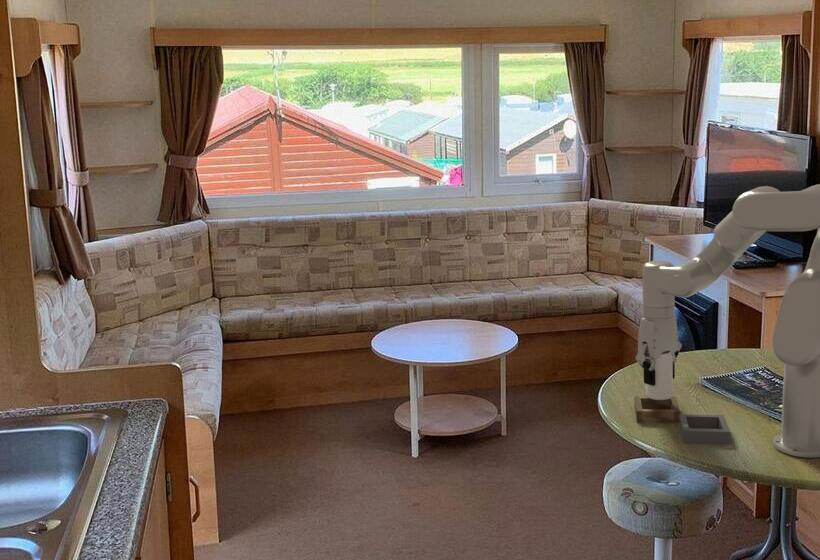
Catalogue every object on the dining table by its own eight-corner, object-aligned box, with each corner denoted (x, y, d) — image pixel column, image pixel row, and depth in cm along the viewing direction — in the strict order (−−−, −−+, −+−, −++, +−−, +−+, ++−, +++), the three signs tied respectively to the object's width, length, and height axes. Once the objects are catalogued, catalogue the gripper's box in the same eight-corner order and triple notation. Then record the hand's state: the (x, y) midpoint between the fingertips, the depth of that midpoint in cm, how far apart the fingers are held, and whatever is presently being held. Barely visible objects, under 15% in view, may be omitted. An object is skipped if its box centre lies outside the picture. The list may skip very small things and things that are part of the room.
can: (654, 402, 233) (654, 355, 230) (641, 394, 239) (640, 348, 236) (677, 398, 234) (677, 352, 232) (664, 390, 241) (663, 345, 238)
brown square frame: (676, 407, 242) (676, 396, 242) (680, 423, 232) (680, 411, 232) (634, 407, 244) (634, 396, 244) (636, 422, 234) (636, 411, 234)
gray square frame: (723, 426, 229) (723, 412, 228) (729, 444, 219) (730, 429, 218) (679, 425, 231) (679, 411, 230) (683, 442, 221) (683, 428, 220)
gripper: (670, 302, 240) (670, 369, 244) (622, 315, 230) (623, 385, 234) (694, 307, 234) (694, 376, 238) (646, 321, 224) (647, 393, 228)
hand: (659, 380), depth 236 cm, fingers closed on can, 6 cm apart
